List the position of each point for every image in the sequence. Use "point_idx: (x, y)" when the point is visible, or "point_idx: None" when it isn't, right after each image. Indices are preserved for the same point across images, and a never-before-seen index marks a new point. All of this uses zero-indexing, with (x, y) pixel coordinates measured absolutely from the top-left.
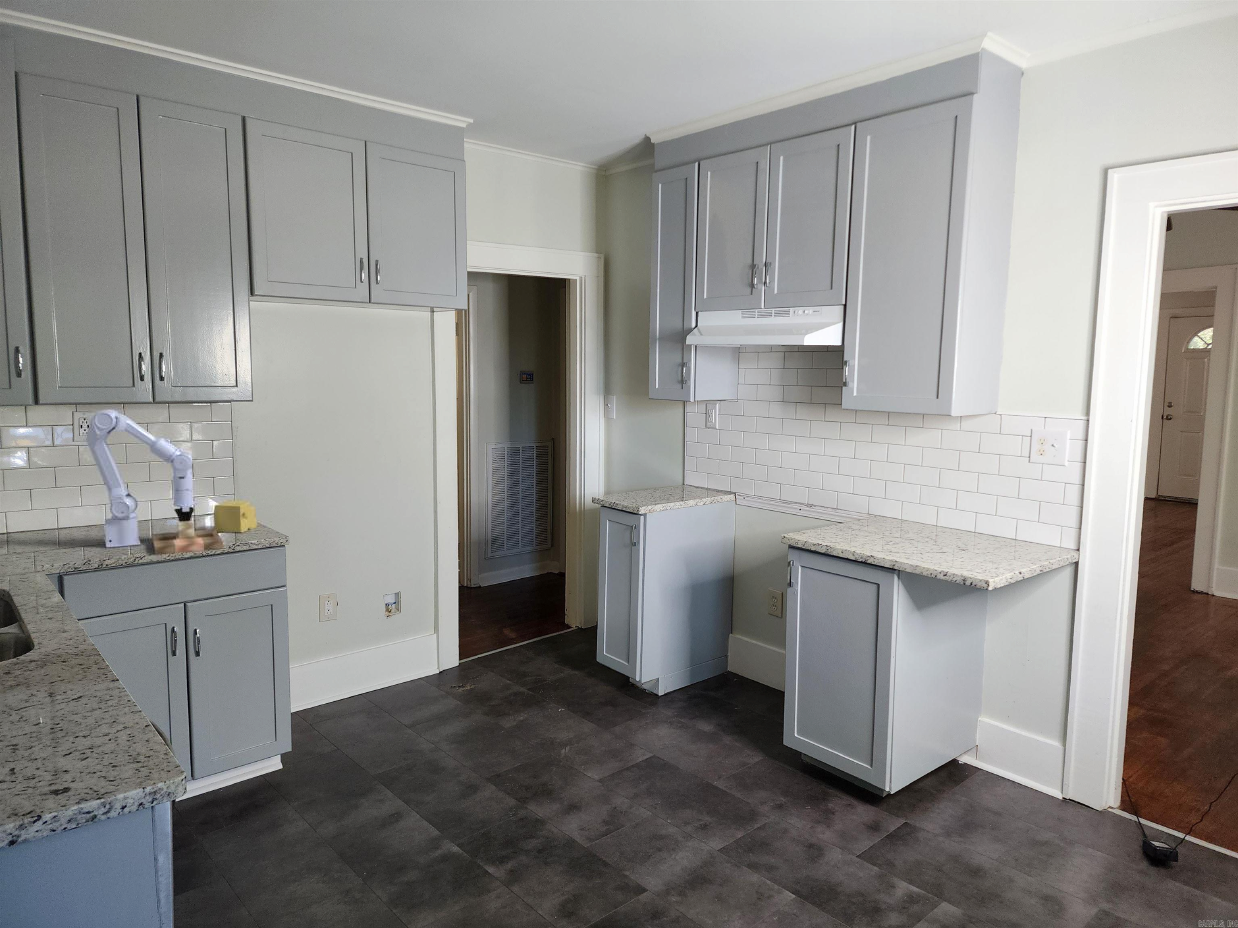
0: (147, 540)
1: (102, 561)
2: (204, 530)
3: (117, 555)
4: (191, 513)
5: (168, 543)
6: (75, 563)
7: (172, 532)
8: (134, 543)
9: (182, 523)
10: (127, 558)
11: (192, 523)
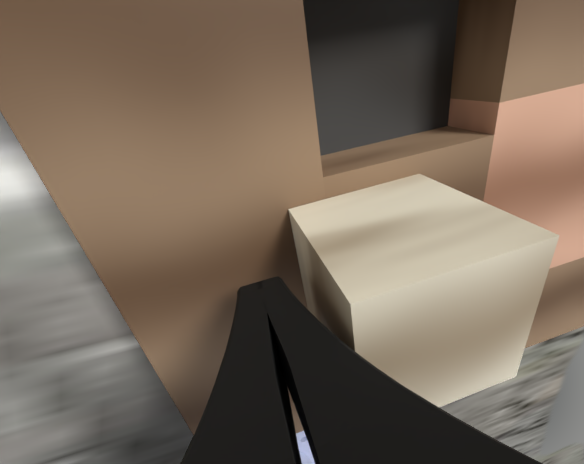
0: (171, 441)
1: (537, 404)
2: (44, 106)
3: (475, 405)
4: (499, 455)
5: (561, 288)
6: (516, 446)
7: (165, 385)
8: (301, 446)
9: (502, 355)
10: (544, 361)
11: (546, 250)
